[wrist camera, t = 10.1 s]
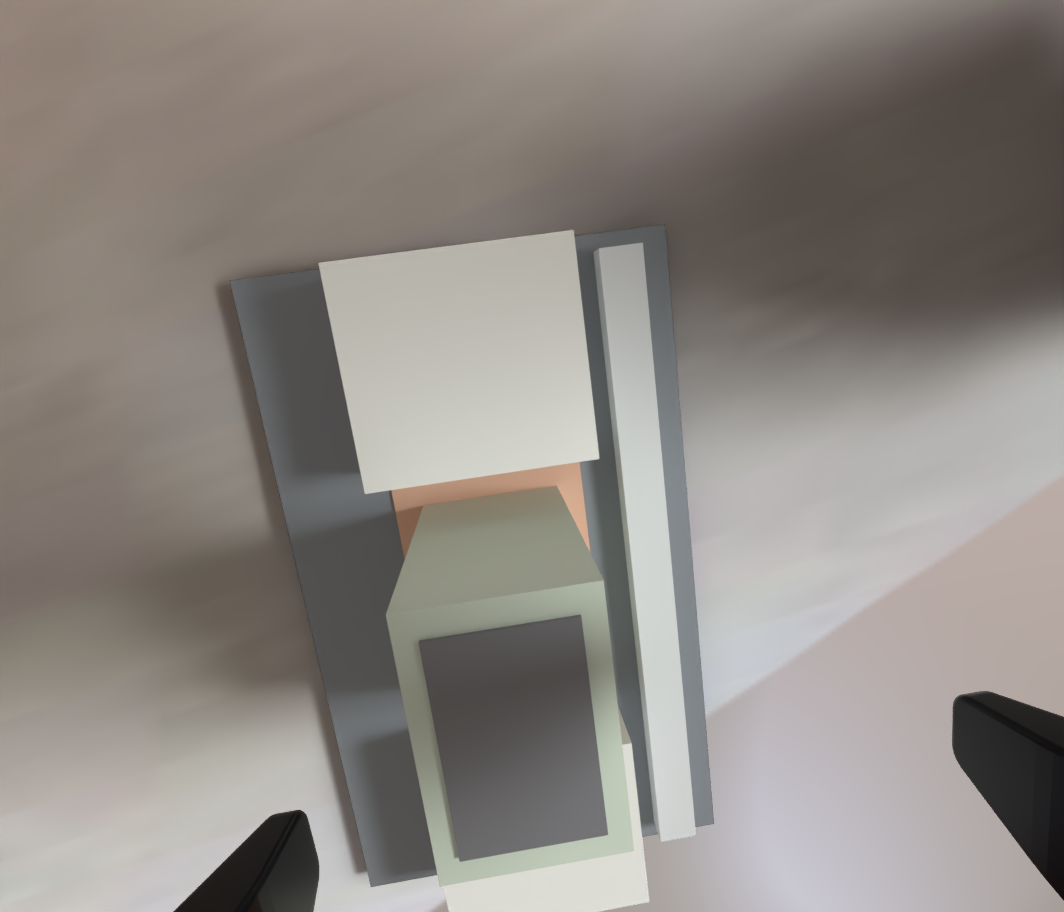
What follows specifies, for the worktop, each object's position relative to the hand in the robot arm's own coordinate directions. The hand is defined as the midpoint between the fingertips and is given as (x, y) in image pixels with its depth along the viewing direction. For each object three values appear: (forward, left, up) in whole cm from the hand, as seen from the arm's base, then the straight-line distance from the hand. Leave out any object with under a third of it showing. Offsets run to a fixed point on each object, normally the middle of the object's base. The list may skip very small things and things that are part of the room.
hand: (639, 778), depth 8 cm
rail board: (+2, +2, -11) cm, 11 cm away
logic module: (+2, +2, -10) cm, 10 cm away
